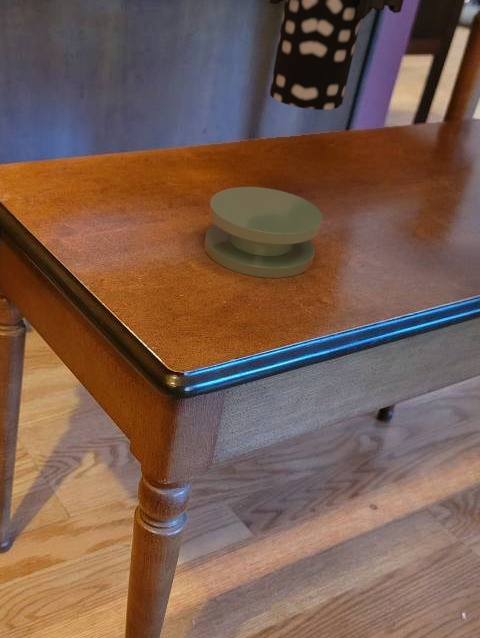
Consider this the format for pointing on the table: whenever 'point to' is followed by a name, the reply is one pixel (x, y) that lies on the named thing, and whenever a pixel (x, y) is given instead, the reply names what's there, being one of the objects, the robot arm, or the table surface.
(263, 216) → the stand
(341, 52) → the spotted tube
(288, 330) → the table surface
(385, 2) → the robot arm
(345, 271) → the table surface
